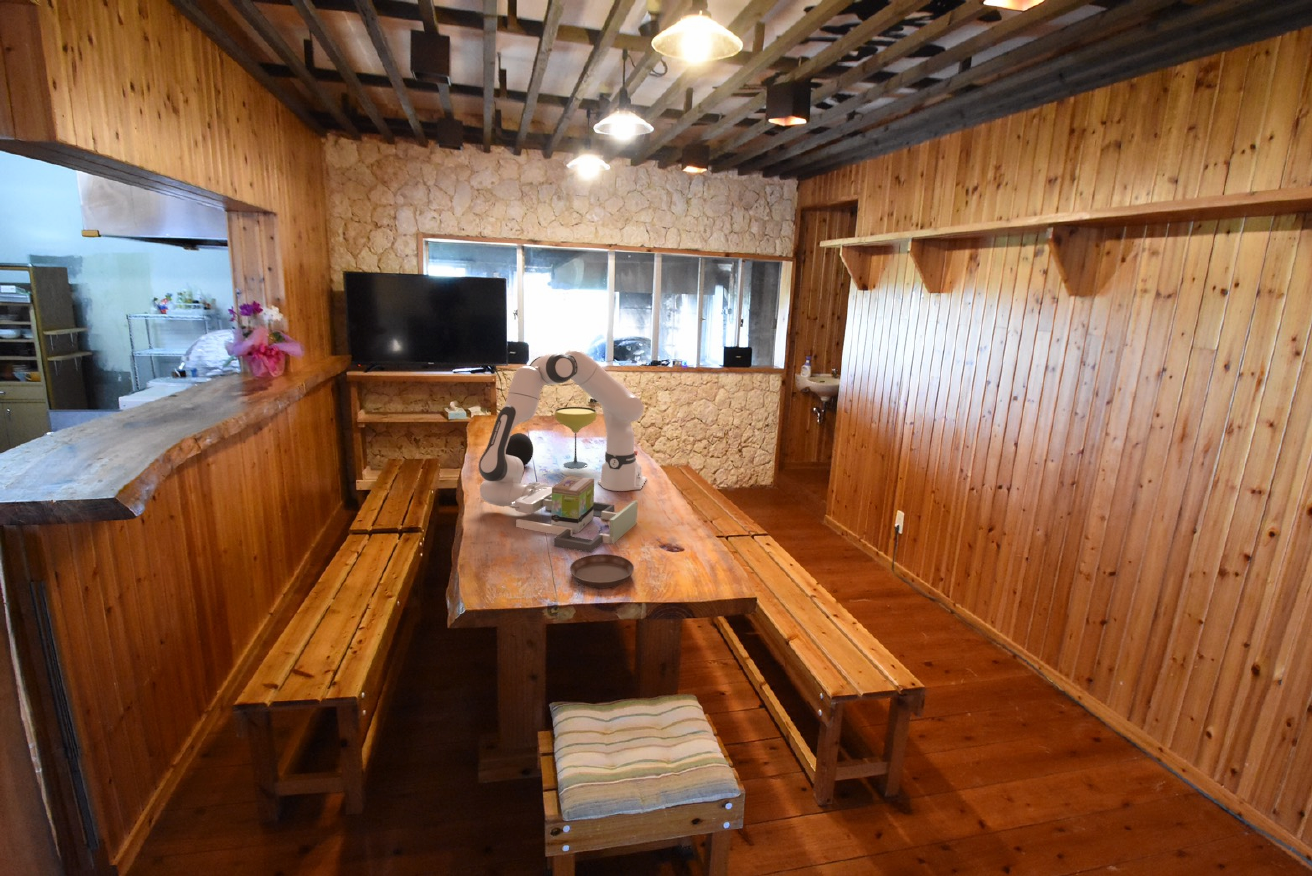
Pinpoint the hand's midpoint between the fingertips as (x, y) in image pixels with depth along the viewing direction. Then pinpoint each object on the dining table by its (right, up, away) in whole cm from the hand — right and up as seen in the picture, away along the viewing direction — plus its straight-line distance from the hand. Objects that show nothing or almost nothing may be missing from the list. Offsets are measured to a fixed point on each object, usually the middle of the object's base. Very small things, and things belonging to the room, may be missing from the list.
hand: (559, 502), depth 214 cm
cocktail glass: (-4, +9, +71) cm, 72 cm away
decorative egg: (-28, +9, +66) cm, 72 cm away
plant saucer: (+18, -17, -38) cm, 45 cm away
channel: (+6, -7, -1) cm, 10 cm away
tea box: (+5, -8, 0) cm, 9 cm away
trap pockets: (+10, -8, -3) cm, 13 cm away
